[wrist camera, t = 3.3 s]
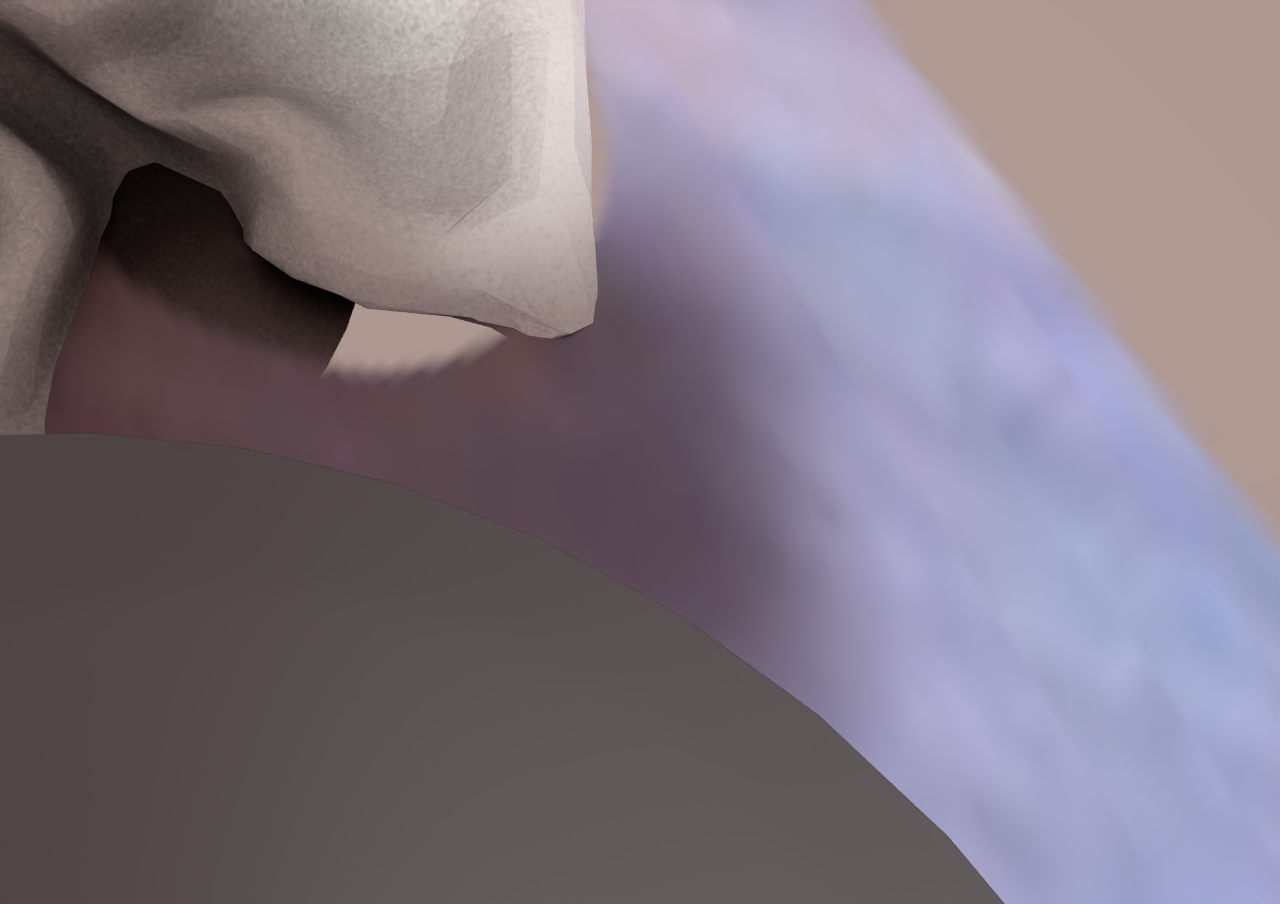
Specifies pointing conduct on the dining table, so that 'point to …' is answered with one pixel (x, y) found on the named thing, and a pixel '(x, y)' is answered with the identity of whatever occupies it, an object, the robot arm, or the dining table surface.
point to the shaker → (389, 709)
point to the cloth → (291, 169)
